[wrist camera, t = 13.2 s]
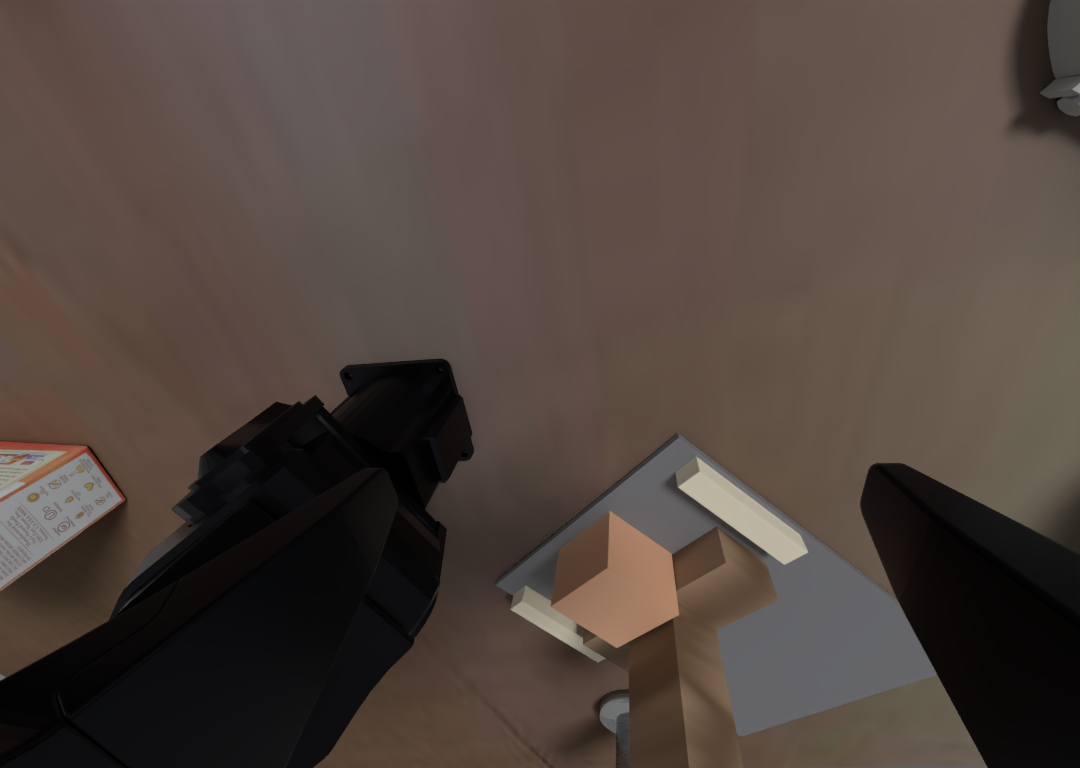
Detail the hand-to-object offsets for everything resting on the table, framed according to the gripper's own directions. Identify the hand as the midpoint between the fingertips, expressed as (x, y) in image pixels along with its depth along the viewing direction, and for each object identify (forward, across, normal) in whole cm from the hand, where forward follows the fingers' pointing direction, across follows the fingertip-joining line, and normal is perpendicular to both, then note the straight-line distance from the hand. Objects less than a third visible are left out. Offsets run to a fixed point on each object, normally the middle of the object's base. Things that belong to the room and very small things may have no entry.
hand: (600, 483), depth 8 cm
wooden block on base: (+13, -2, +20) cm, 24 cm away
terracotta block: (+13, +1, +17) cm, 21 cm away
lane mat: (+13, -5, +23) cm, 27 cm away
